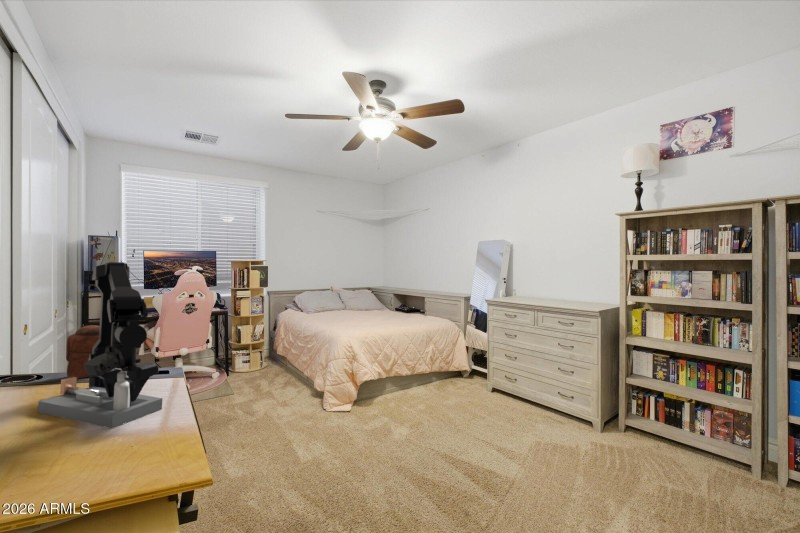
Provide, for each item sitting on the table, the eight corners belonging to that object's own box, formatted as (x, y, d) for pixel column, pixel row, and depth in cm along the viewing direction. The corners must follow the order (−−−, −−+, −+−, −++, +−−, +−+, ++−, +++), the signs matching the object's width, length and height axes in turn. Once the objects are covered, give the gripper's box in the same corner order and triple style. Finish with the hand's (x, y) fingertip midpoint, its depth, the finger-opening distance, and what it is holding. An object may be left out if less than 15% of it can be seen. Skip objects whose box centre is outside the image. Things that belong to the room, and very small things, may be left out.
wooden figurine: (107, 371, 136) (109, 322, 137) (110, 374, 132) (112, 325, 132) (64, 376, 128) (66, 325, 128) (65, 381, 123) (68, 328, 124)
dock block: (92, 396, 111) (93, 381, 111) (161, 408, 103) (162, 393, 103) (37, 412, 98) (38, 395, 98) (112, 428, 90) (112, 410, 90)
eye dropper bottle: (135, 407, 101) (137, 364, 101) (125, 415, 96) (127, 370, 96) (117, 408, 100) (119, 365, 100) (106, 416, 95) (108, 370, 95)
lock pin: (72, 391, 106) (73, 376, 106) (102, 396, 102) (103, 381, 102) (60, 394, 103) (61, 379, 103) (90, 400, 99) (91, 385, 99)
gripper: (65, 343, 93) (62, 404, 93) (119, 350, 88) (116, 415, 88) (111, 336, 104) (108, 391, 104) (161, 342, 99) (158, 400, 98)
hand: (121, 399), depth 98 cm, fingers closed on eye dropper bottle, 8 cm apart
